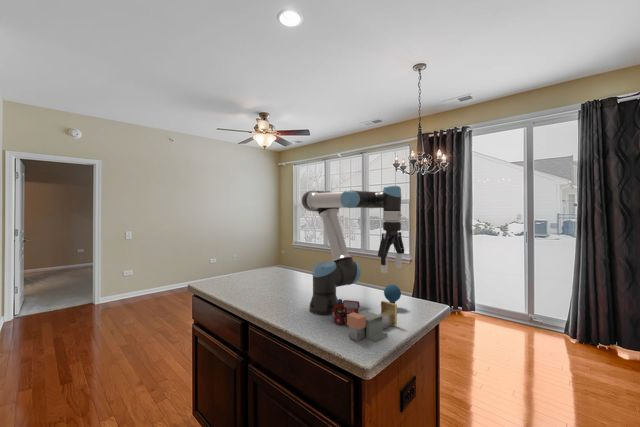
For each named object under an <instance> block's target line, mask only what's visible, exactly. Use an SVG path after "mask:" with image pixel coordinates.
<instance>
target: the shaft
mask: <svg viewBox="0 0 640 427" xmlns="http://www.w3.org/2000/svg"><path fill="white" fill-rule="evenodd" d="M380 303H381V304H380V313H379V314H378V313H377V314H378V315H381V316H382V330H384V329H386V328H389V327H391V326H392V327H397V326H398V311H397V310H398V309H397V308H398V304H396V303H395V304H394V303H390V302H389V301H386V300H382V301H380ZM348 338H349V339H352V340H354V341H357V342H358V341H359V340H362V339H364V338H366V327H364V328H362V329H359V330H358V329H356V328H353V327H351V326H348Z"/></svg>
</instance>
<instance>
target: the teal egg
mask: <svg viewBox="0 0 640 427" xmlns="http://www.w3.org/2000/svg"><path fill="white" fill-rule="evenodd" d="M383 295H384V297H385V299H386V300H387V302H390V303H394V304H396V302H397V301H398V300H400V299H401V296H402V292H401V289H400V288H399V286H398V285H396V284H388V285H387V286H385V288H384V290H383Z"/></svg>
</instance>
